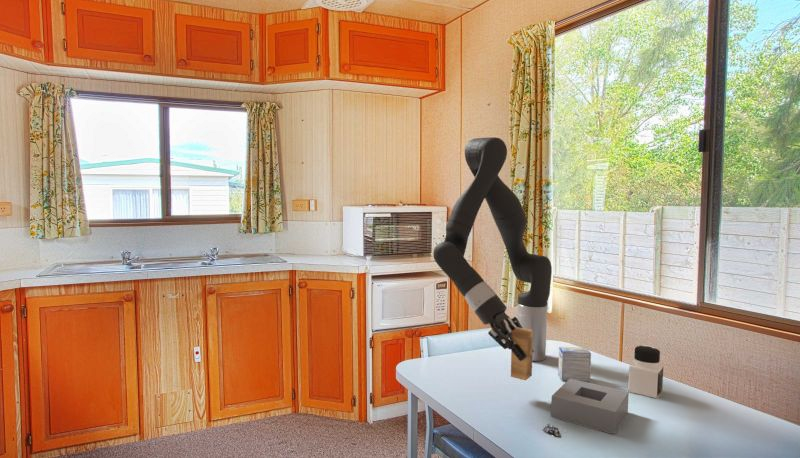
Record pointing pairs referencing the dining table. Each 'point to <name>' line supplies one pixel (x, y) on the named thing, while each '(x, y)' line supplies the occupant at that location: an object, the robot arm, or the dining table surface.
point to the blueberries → (551, 430)
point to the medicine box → (574, 364)
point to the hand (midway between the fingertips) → (527, 356)
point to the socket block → (590, 405)
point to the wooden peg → (526, 343)
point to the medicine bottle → (646, 372)
